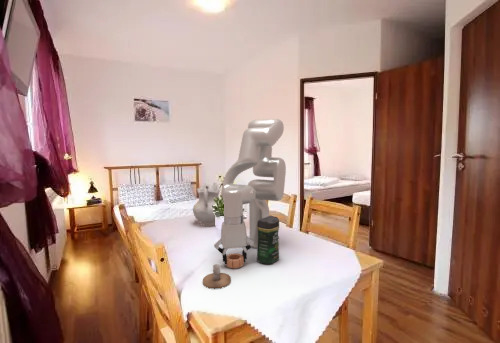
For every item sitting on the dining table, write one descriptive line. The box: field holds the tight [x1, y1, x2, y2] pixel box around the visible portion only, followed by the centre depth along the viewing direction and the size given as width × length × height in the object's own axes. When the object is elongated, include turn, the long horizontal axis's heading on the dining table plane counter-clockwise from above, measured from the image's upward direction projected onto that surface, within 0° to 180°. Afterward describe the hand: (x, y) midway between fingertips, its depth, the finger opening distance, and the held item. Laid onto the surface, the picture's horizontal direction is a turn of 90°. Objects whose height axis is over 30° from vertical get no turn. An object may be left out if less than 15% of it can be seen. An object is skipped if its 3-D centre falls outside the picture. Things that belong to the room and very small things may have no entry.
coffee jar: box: [256, 215, 280, 265], centre depth 118 cm, size 10×8×19 cm
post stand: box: [202, 263, 232, 290], centre depth 101 cm, size 10×10×6 cm
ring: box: [225, 252, 245, 269], centre depth 115 cm, size 7×7×3 cm
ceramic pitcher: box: [192, 182, 221, 227], centre depth 170 cm, size 22×20×25 cm
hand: (234, 261), depth 115 cm, fingers closed on ring, 7 cm apart
